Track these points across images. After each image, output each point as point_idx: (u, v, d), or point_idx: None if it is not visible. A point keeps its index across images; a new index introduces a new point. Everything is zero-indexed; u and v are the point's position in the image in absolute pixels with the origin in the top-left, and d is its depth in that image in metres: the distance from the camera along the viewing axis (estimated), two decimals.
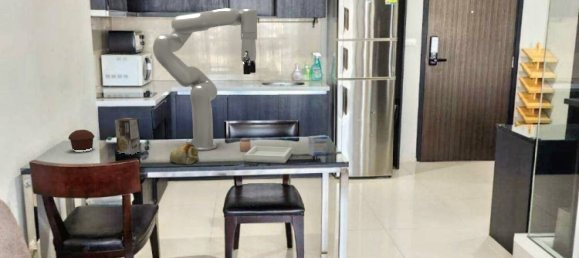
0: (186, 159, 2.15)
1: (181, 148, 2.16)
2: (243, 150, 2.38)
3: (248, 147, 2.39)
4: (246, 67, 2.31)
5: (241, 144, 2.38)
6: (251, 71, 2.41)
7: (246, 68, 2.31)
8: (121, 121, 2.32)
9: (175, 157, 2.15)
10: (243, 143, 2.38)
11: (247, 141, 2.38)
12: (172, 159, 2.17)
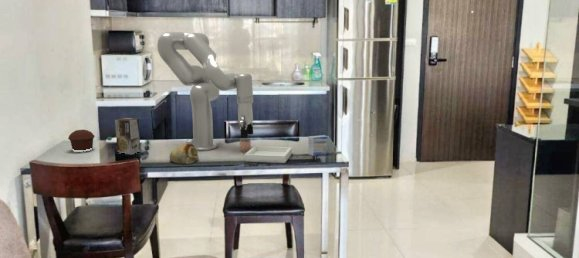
0: (186, 158, 2.15)
1: (181, 148, 2.17)
2: (243, 150, 2.38)
3: (248, 147, 2.39)
4: (243, 131, 2.33)
5: (241, 144, 2.38)
6: (248, 133, 2.43)
7: (243, 132, 2.33)
8: (121, 121, 2.32)
9: (175, 157, 2.16)
10: (243, 143, 2.38)
11: (247, 141, 2.38)
12: (172, 159, 2.17)
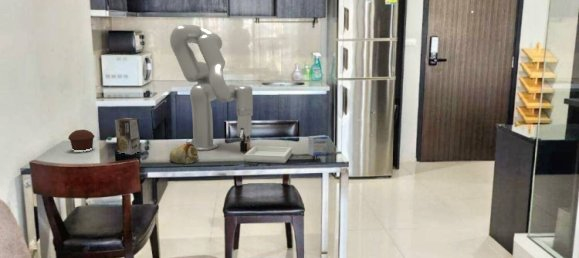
0: (186, 158, 2.16)
1: (181, 148, 2.17)
2: None
3: (248, 147, 2.39)
4: (243, 145, 2.36)
5: None
6: None
7: (243, 146, 2.36)
8: (121, 121, 2.32)
9: (175, 157, 2.16)
10: None
11: (247, 141, 2.38)
12: (172, 159, 2.17)
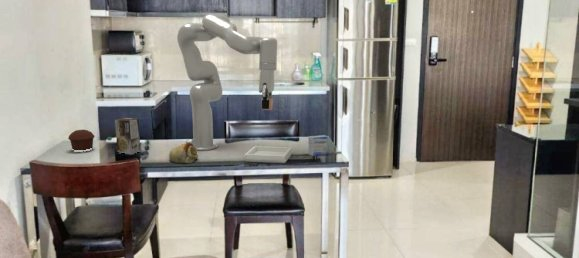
0: (186, 158, 2.17)
1: (181, 147, 2.18)
2: None
3: (270, 104, 2.22)
4: (265, 102, 2.20)
5: None
6: None
7: (265, 103, 2.20)
8: (121, 121, 2.32)
9: (175, 156, 2.17)
10: None
11: (270, 98, 2.21)
12: (172, 158, 2.18)
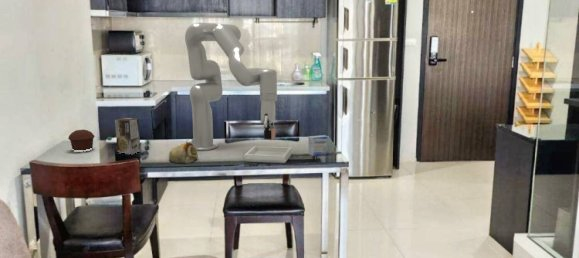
0: (186, 158, 2.17)
1: (180, 147, 2.18)
2: None
3: (273, 134, 2.24)
4: (267, 132, 2.22)
5: None
6: None
7: (267, 133, 2.22)
8: (121, 121, 2.32)
9: (175, 156, 2.17)
10: None
11: (272, 128, 2.23)
12: (171, 158, 2.18)
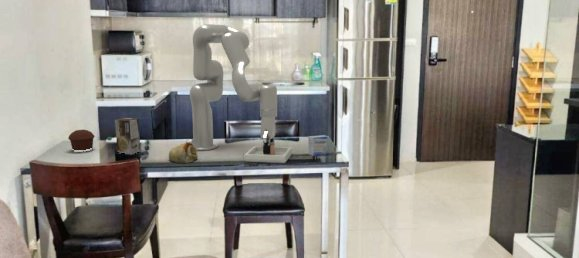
0: (186, 157, 2.17)
1: (180, 147, 2.19)
2: (267, 154, 2.25)
3: (272, 151, 2.25)
4: (266, 147, 2.22)
5: None
6: None
7: (266, 148, 2.22)
8: (121, 121, 2.32)
9: (175, 156, 2.17)
10: None
11: (271, 145, 2.25)
12: (171, 158, 2.19)
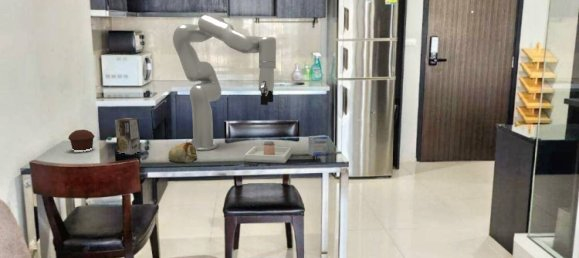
0: (186, 157, 2.18)
1: (180, 147, 2.19)
2: (267, 154, 2.25)
3: (272, 151, 2.25)
4: (263, 97, 2.21)
5: (265, 148, 2.25)
6: (268, 100, 2.32)
7: (263, 99, 2.22)
8: (121, 121, 2.32)
9: (175, 156, 2.18)
10: (267, 147, 2.24)
11: (271, 145, 2.25)
12: (171, 158, 2.19)
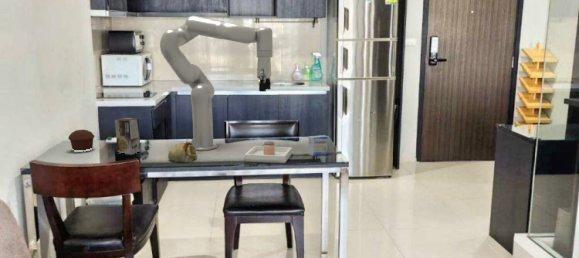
0: (186, 157, 2.18)
1: (180, 146, 2.20)
2: (267, 154, 2.25)
3: (272, 151, 2.25)
4: (262, 84, 2.36)
5: (265, 148, 2.25)
6: (266, 88, 2.46)
7: (262, 85, 2.36)
8: (121, 121, 2.32)
9: (175, 156, 2.18)
10: (267, 147, 2.24)
11: (271, 145, 2.25)
12: (171, 157, 2.19)
